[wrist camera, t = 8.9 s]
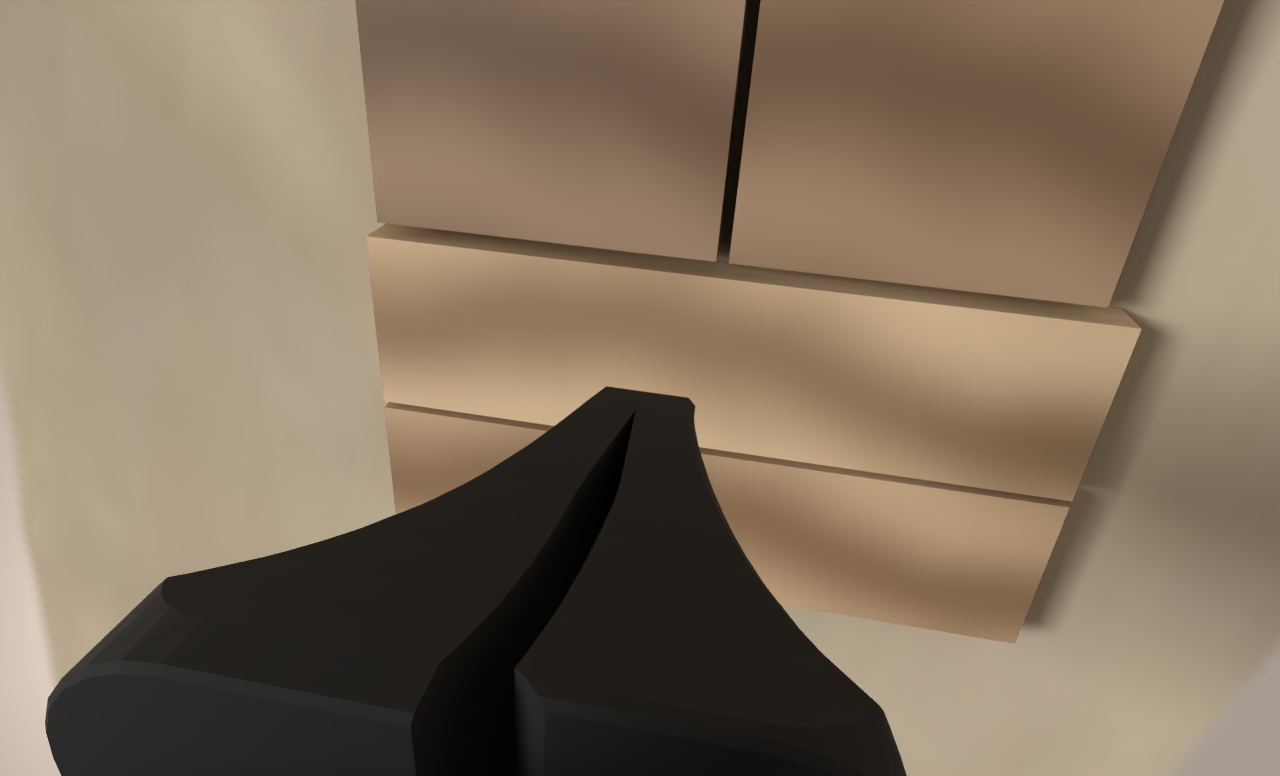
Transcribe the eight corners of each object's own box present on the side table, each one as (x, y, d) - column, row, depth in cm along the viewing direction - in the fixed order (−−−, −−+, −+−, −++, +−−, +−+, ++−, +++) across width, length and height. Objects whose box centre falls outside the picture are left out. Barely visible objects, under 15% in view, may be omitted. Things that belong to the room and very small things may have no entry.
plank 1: (719, 246, 20) (716, 261, 19) (398, 209, 21) (377, 222, 20) (757, -79, 16) (755, -82, 15) (371, -103, 17) (344, -108, 16)
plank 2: (1090, 288, 19) (1107, 307, 18) (732, 247, 20) (728, 263, 19) (1212, -50, 15) (1243, -51, 14) (772, -78, 16) (770, -81, 15)
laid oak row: (1005, 613, 23) (1014, 643, 22) (414, 516, 26) (398, 539, 25) (1122, 308, 19) (1141, 328, 18) (387, 223, 21) (366, 236, 20)
